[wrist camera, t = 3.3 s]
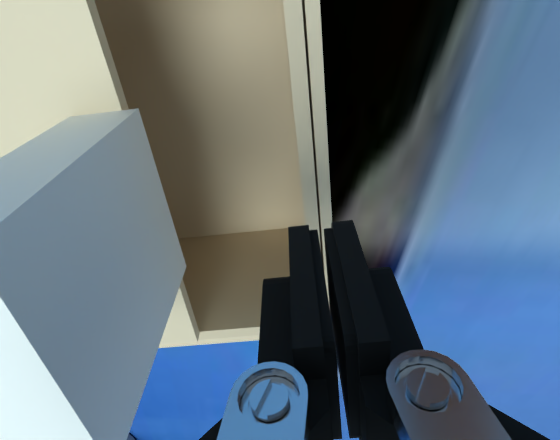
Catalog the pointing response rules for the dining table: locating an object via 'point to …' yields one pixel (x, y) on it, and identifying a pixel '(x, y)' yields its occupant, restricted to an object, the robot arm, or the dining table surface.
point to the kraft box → (229, 139)
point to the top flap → (78, 233)
